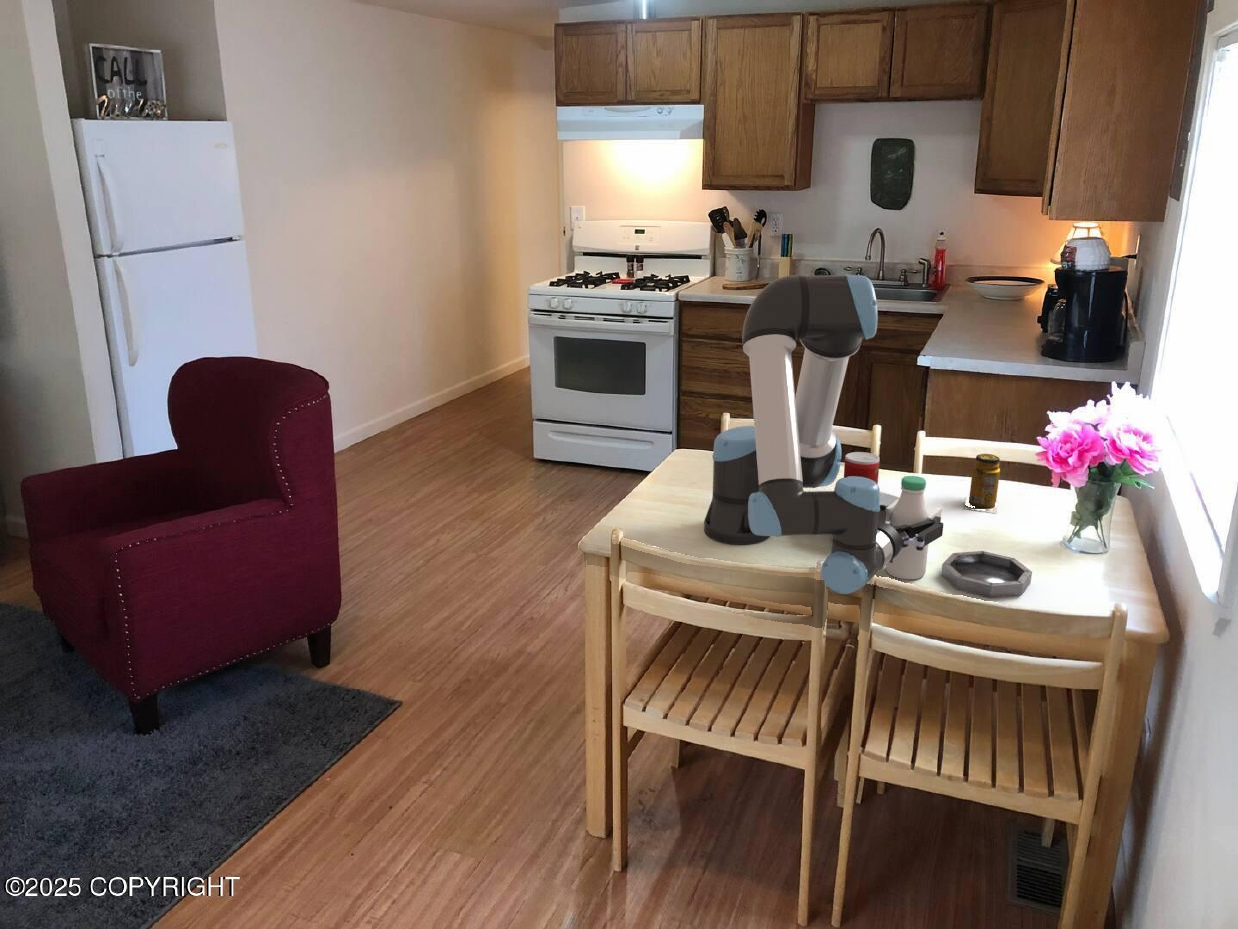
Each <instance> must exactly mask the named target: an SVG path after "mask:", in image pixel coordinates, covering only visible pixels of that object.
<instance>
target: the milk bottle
mask: <svg viewBox="0 0 1238 929" xmlns="http://www.w3.org/2000/svg"><path fill="white" fill-rule="evenodd" d="M900 481H901V483H900V485H901V487H900V490H901V493H900V496H899V497H900V498H899V500H898V502H897V503H896V505H895V507H894V508H893V511H892V514H891V518H890V525H891V526H901V525H904V524H906V525H913V524H916V523H919V522H923V521H926V520H927V517H928V516H929V515H930V512H929V509H928V506H927V504H926V501H925V500H926V499H925V492H926V486H927V480H926V478H923V477H921V476H919V475H918V476H916V475H906V476H903V477H902V478H901V480H900ZM928 551H929V544H928V545H926V546H924V548H923V550H922V551H919V550H916V547H914V546H913V545H908V546H907V547H905V548H902V549H901V550H900V552H899V553H898V555H897V556H896V557H895V558H894V559H892V560H891V561H890V562H889V563H888V564H887V565H885V570H886V573H887V574H889V575H890V576H892V577H894V578H898V579H900V580H901V579H902V580H907V581H909V580H911V581H912V580H918V579H921V578H923V577H924V576H925V574H926V571H927V570H926V569H927V562H928Z"/></svg>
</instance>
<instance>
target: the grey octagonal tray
mask: <svg viewBox="0 0 1238 929" xmlns="http://www.w3.org/2000/svg"><path fill="white" fill-rule="evenodd" d="M940 573H941V574H940V576H941V577H942V578H943V579H944V580H946V581H947V582H948V583H949V584H950V585H951V586H952V588H954V589H955V590H956V591H957V590H958V591H961V592H966V593H969V594H973V595H977V596H981V597H983V598H989V599H994V598H1005V597H1007V598H1008V597H1020V596H1022V595H1023V594H1024V593H1025V591H1026V590H1027V589H1028V587H1029V586H1030V585H1031V583H1032V576H1033V571H1032V570H1030V569H1029V568H1028V567H1027V566H1025V565H1024V564H1023V563H1022V562H1020V561H1019V560H1018V559H1016V558H1015V557H1010V556H1007V555H1002V554H997V553H993V552H988V551H984V550H977V551H965V552H964V551H962V552H953V553H952V554H950V555H949V556H948V558H947V559H945V561H944V562H942V564H941V572H940Z"/></svg>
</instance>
